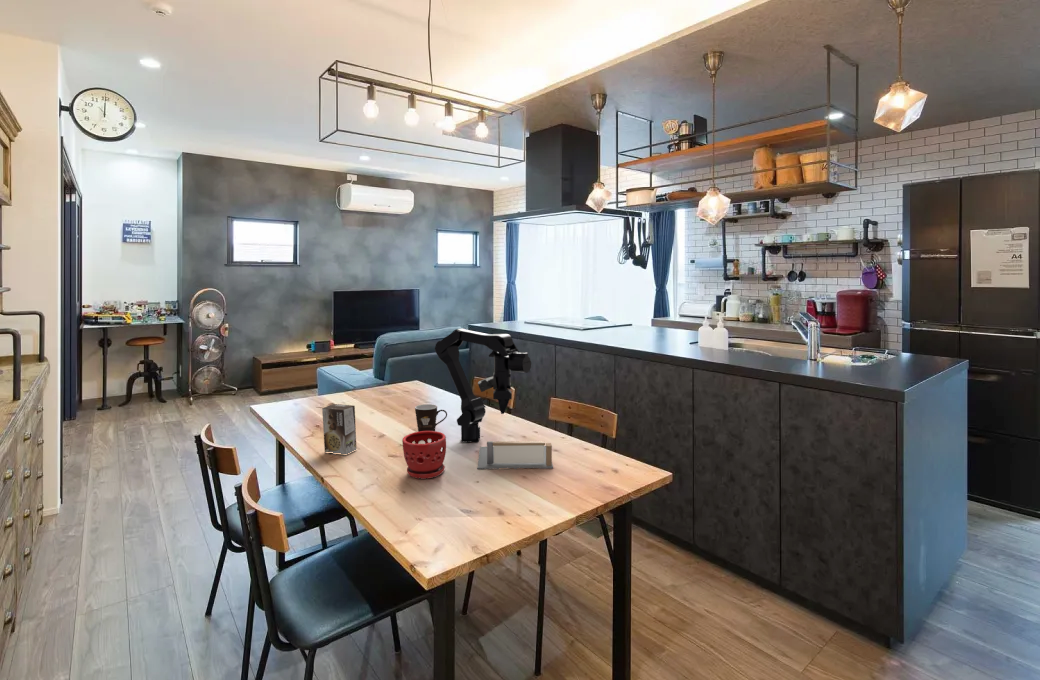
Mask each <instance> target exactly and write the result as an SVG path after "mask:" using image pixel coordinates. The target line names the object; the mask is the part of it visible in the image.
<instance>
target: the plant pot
mask: <svg viewBox="0 0 1040 680" xmlns="http://www.w3.org/2000/svg"><path fill="white" fill-rule="evenodd" d="M446 438H447V437H446V435H445V434H444V433H443V432H441V431H436V430H435V431H420V432H418V431H415V432H411V433H409V434H407V435H405V436H403V437H402V450H403V457H404V460H405V463H406V465H407V468H406V473H407V474H408V475H409V476H410V477H412V478H414V477H415V478H414V479H419V478H421V479H422V480H424V479H426V478H427V479H431V478H433V477H434V478H436V477H439V476H440V475H441V474H443V473H444V472H445V468H446V466H445V464H444V461H445V458H446V453H447V439H446ZM428 440H430V441H428ZM422 441H423V442H424V443H420V442H422Z"/></svg>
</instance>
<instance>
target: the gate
mask: <svg viewBox="0 0 1040 680" xmlns="http://www.w3.org/2000/svg"><path fill="white" fill-rule="evenodd" d="M493 446H494V463H544V446H546V442H545V440H538V441H537V440H531V441H530V440H527V441H526V440H525V441H524V440H522V441H517V440H516V441H515V440H514V441H510V440H509V441H505V440H504V441H491V440H489V441H487V442H486V447H487V464H493Z"/></svg>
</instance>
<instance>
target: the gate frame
mask: <svg viewBox="0 0 1040 680" xmlns="http://www.w3.org/2000/svg"><path fill="white" fill-rule="evenodd" d="M478 452H479V453H478V459H477V460H478V461H477V470H500V469H499V468H514V470H518V469H517V468H539V469H554V465H553V461H552V460H553V446H552V443H551V442H545V445H544V463H494V446H493V464H487V446H479V451H478Z"/></svg>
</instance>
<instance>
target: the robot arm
mask: <svg viewBox="0 0 1040 680" xmlns="http://www.w3.org/2000/svg"><path fill="white" fill-rule="evenodd" d="M463 342H467V343H472V344H476V345H482V346H485V347H486V348H488V349H489V350H491V351H492V352H491V353H489V354H488V357H489V358H493V369H494V370H493V375H492V376H490V377H487V378H483V379H481V380H479V381H478V382H477V384H478V388H479V390H480V392H481V393H483V392H485V391H487V390H489V389H492V388H493V394H492V395H493V397H492V399H493V400H496V401H497V403H498V406H499V411H500V415H504V414H505V413H506V410H507V408H508V405H509V403H510V400H512V397H513V395H512V394H513V393H512V390H511V389H512V388H511V386H512V383H511V375H512V374H511V372H516V373H525V374H528V373H529V372H530V371H531V368H532V361H531V358H530V357H529V353H528V352H520V351H519V349H518V348H517V346H516V344H515V343H514V341H513V337H512V336H511V335H510V333H509V334H508V333H493V334H491V333H484V332H480V331H474V330H469V329H465V328H457V329H454V330H453V331H452V332H451V333H450V334H448V335H446V336H444V338H442V339H441V340H439V341H437V342H436V343H435V346H434V352H435V354H436V356H437V357H438V358H439V360H440V361H441V362H442V363H444V364H445V366H446V367H447V370H448V372H449V374H450V376H451V379H452V381H453V384H454V386H455V389H456V392H457V394H458V395H459V398H460V400H461V401H460V404H461V405H460V410H461V414H460V416H459V417H457V419H456V424H457V426H460V431H461V432H460V443H478V442H479V440H480V439H481V426H479V423H481V422H482V421H483V418H484V417H485V416H486V408H487V407H486V405H485V404H484V401H483V398H482V397H477V396H476V395H475V394H474V392H473V390H472V388H471V386H470V385H471V384H470V383H469V381H468V379H467V376H466V373H465V372H464V369H463V367H462V365H461V361H460V349H459V347H461V346H462V345H463Z"/></svg>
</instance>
